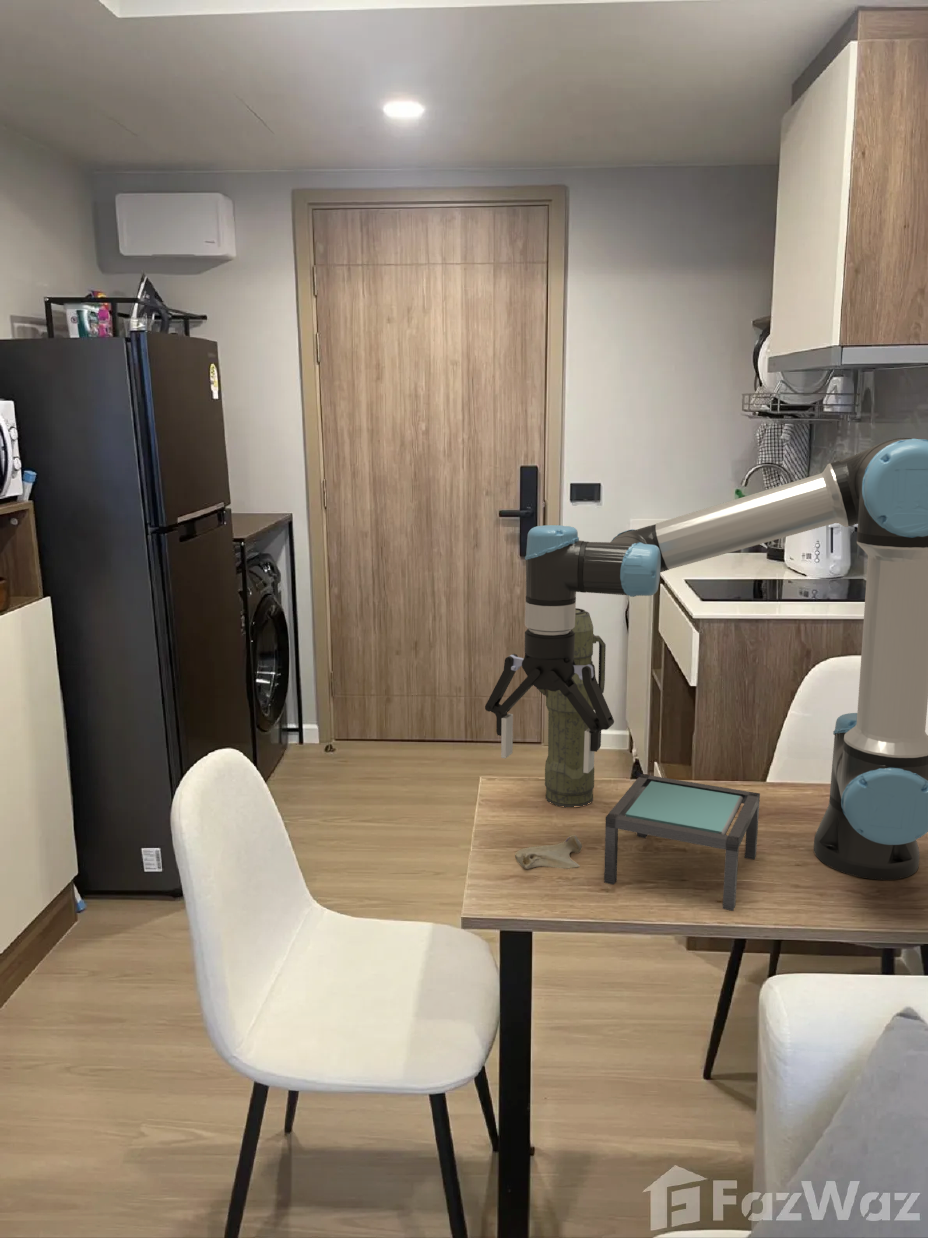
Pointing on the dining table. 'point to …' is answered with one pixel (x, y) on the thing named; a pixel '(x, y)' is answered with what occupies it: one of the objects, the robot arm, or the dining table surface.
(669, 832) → the frame
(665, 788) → the trapdoor
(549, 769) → the thermos
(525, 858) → the fossil
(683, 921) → the dining table surface
